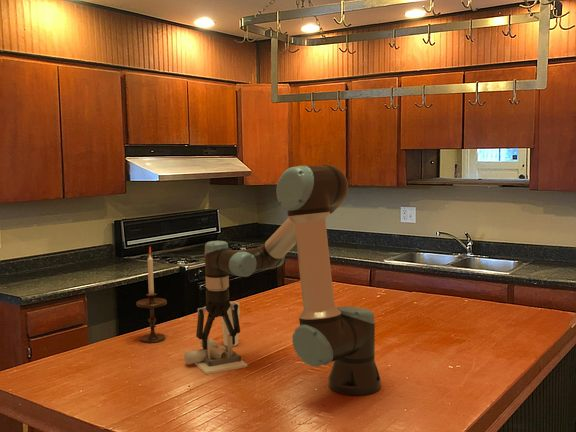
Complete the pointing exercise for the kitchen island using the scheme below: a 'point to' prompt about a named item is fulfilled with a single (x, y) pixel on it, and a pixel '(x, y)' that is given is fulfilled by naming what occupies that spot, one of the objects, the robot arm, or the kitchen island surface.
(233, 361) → the coupling board
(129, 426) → the kitchen island surface
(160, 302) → the candlestick
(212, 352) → the pipe fitting
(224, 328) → the drinking glass
